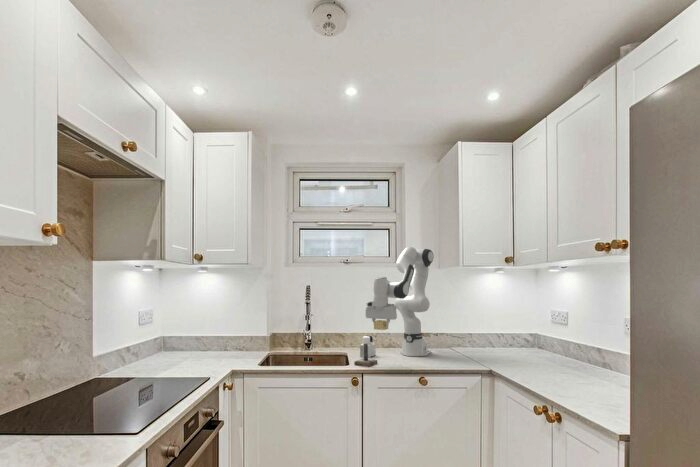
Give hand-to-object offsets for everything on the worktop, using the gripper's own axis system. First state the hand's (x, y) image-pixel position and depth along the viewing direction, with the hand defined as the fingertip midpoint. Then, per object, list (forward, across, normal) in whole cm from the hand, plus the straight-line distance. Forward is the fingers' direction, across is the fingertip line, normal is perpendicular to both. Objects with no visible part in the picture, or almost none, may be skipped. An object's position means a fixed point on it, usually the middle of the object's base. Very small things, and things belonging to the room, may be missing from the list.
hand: (381, 326), depth 248 cm
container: (+22, +19, -16) cm, 33 cm away
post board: (+22, +7, +6) cm, 24 cm away
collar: (+2, 0, 0) cm, 2 cm away
